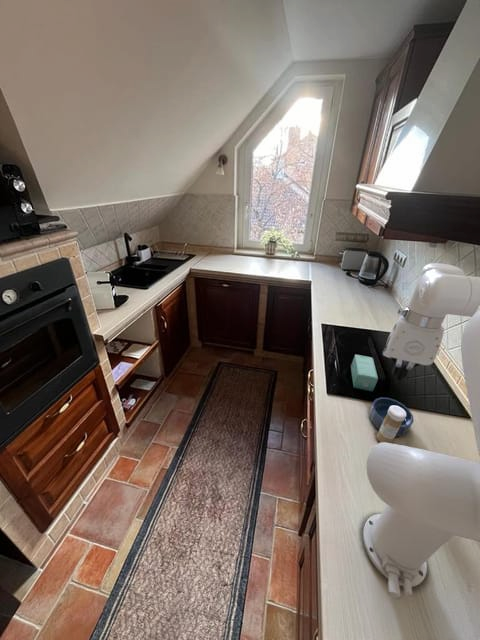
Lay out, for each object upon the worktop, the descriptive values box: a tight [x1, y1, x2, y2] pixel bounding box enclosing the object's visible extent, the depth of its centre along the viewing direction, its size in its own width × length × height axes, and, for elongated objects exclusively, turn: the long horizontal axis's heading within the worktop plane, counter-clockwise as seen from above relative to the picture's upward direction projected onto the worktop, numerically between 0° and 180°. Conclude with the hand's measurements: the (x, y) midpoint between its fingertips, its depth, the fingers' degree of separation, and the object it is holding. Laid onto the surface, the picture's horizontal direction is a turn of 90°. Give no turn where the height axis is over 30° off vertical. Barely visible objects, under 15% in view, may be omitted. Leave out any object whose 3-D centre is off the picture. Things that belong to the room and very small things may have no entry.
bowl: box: [368, 397, 415, 437], centre depth 86 cm, size 12×12×5 cm
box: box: [350, 354, 379, 392], centre depth 104 cm, size 7×14×8 cm, turn 164°
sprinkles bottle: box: [376, 405, 406, 444], centre depth 78 cm, size 5×5×14 cm
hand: (397, 377), depth 68 cm, fingers closed
